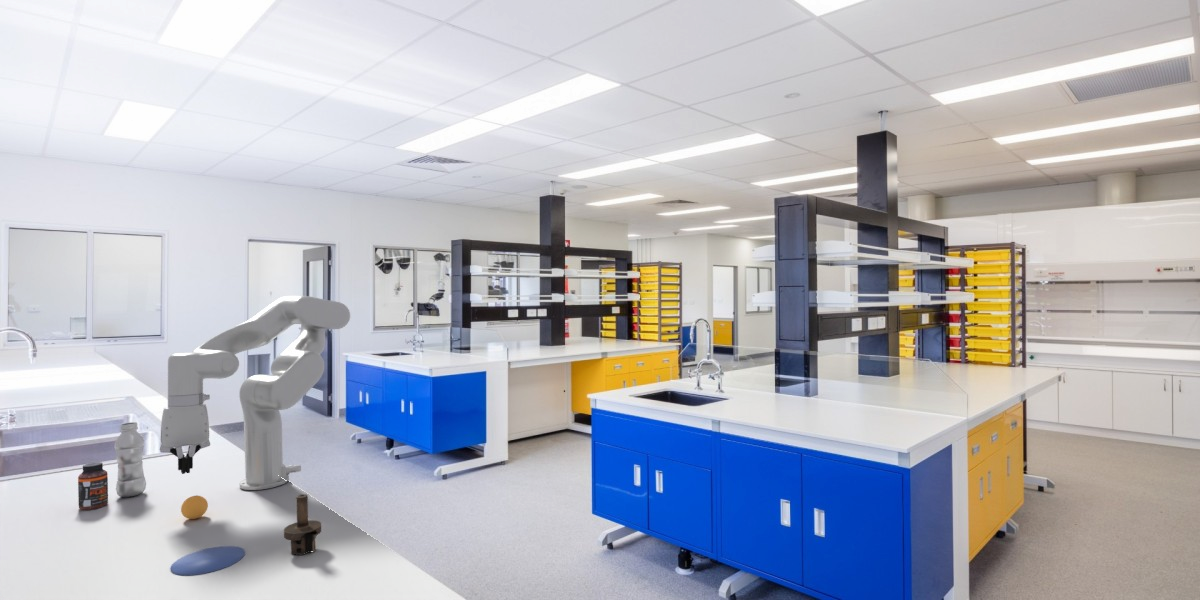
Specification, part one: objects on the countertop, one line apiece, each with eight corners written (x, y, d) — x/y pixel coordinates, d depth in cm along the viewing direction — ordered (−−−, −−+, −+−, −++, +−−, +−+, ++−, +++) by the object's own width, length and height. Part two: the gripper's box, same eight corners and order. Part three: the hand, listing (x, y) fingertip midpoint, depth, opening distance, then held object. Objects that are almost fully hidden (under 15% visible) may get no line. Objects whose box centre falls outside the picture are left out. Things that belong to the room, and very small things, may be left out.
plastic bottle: (152, 492, 169) (149, 421, 168) (126, 501, 162) (123, 427, 162) (136, 490, 171) (133, 420, 170) (110, 498, 164) (107, 425, 164)
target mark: (238, 541, 135) (238, 540, 135) (250, 561, 125) (250, 560, 125) (167, 559, 127) (167, 558, 127) (174, 582, 117) (174, 581, 117)
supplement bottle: (91, 511, 155) (89, 468, 155) (72, 510, 156) (71, 466, 156) (114, 503, 161) (112, 461, 160) (96, 502, 162) (94, 460, 162)
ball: (206, 512, 153) (205, 490, 153) (209, 518, 149) (209, 496, 149) (180, 518, 150) (179, 496, 150) (182, 524, 145) (182, 501, 145)
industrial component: (327, 551, 130) (326, 495, 129) (291, 562, 124) (290, 504, 124) (311, 538, 136) (310, 485, 136) (276, 548, 131) (275, 493, 131)
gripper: (217, 396, 163) (217, 464, 163) (148, 402, 154) (148, 474, 154) (221, 399, 158) (221, 470, 158) (150, 406, 148) (150, 481, 148)
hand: (185, 472), depth 156 cm, fingers closed
